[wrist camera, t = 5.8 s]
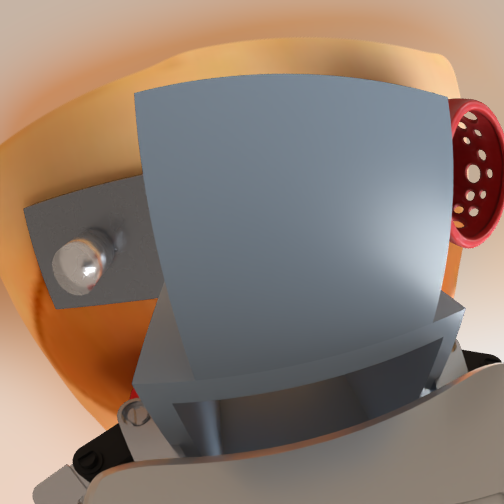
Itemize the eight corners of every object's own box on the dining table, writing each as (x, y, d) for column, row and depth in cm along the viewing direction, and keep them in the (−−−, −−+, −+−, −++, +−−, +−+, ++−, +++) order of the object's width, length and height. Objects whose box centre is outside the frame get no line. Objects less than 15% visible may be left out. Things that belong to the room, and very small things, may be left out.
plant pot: (356, 217, 28) (430, 258, 17) (356, 96, 23) (437, 77, 12) (435, 215, 29) (504, 245, 18) (439, 116, 25) (513, 119, 13)
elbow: (330, 127, 11) (481, 109, 3) (332, 343, 15) (395, 453, 7) (162, 143, 10) (55, 120, 3) (208, 366, 14) (214, 499, 7)
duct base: (161, 170, 23) (145, 176, 17) (184, 287, 27) (179, 323, 21) (30, 205, 21) (-5, 221, 15) (61, 302, 26) (37, 334, 20)
